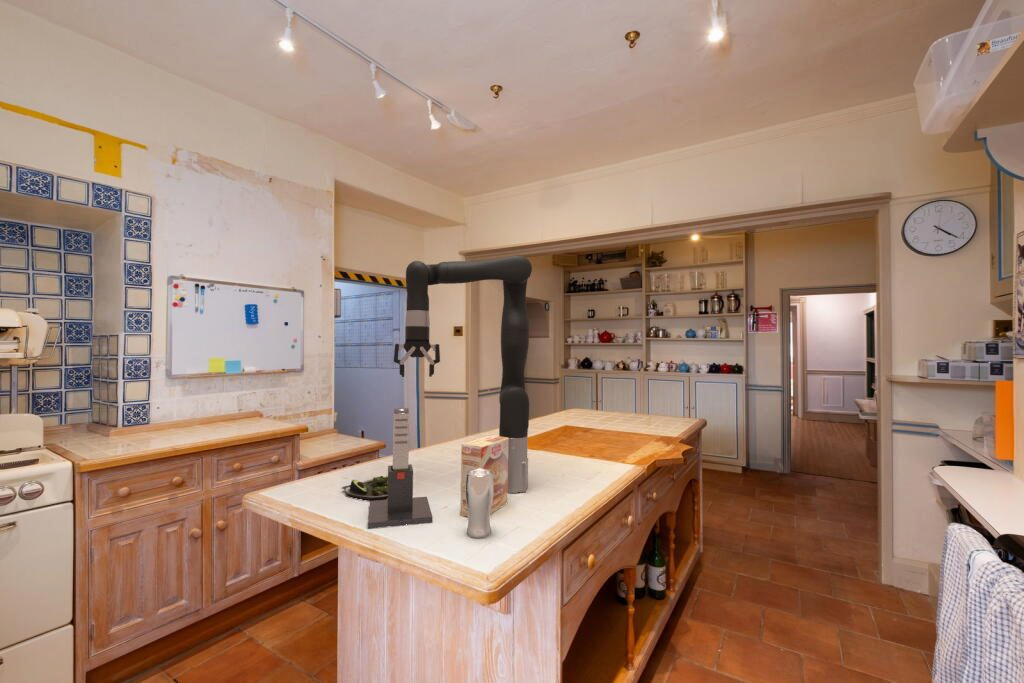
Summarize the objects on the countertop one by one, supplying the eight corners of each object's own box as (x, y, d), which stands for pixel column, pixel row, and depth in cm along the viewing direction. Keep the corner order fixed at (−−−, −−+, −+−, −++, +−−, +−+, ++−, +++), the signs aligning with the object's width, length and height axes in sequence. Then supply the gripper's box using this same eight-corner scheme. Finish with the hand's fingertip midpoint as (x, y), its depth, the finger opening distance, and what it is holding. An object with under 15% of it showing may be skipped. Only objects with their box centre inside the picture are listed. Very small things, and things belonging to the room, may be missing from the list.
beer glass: (464, 527, 113) (465, 468, 113) (492, 527, 113) (493, 468, 114) (464, 539, 106) (465, 476, 106) (493, 539, 107) (494, 476, 107)
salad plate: (376, 479, 154) (376, 465, 154) (419, 486, 147) (419, 472, 147) (333, 496, 136) (334, 481, 136) (380, 505, 129) (380, 489, 129)
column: (407, 483, 124) (408, 407, 124) (408, 487, 120) (409, 409, 120) (392, 484, 123) (393, 408, 123) (392, 489, 119) (393, 410, 119)
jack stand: (426, 501, 131) (427, 459, 131) (432, 522, 116) (433, 474, 116) (369, 506, 127) (370, 462, 127) (367, 528, 111) (368, 478, 112)
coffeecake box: (480, 520, 118) (481, 446, 118) (458, 515, 121) (459, 443, 121) (508, 503, 131) (509, 437, 131) (488, 499, 134) (489, 434, 134)
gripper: (438, 326, 147) (438, 375, 146) (394, 325, 143) (393, 376, 143) (441, 325, 139) (440, 377, 139) (394, 324, 135) (393, 377, 135)
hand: (416, 376), depth 141 cm, fingers open, 8 cm apart
